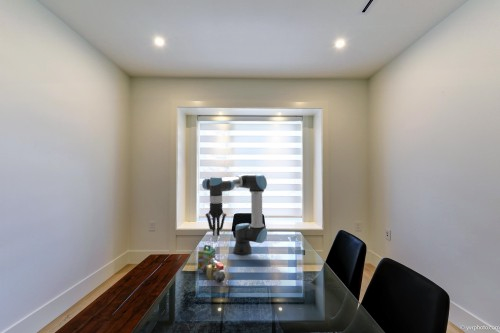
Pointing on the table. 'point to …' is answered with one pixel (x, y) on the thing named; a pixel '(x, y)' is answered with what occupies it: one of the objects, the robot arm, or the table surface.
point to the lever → (217, 264)
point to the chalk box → (205, 255)
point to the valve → (213, 272)
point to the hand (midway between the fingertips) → (216, 241)
